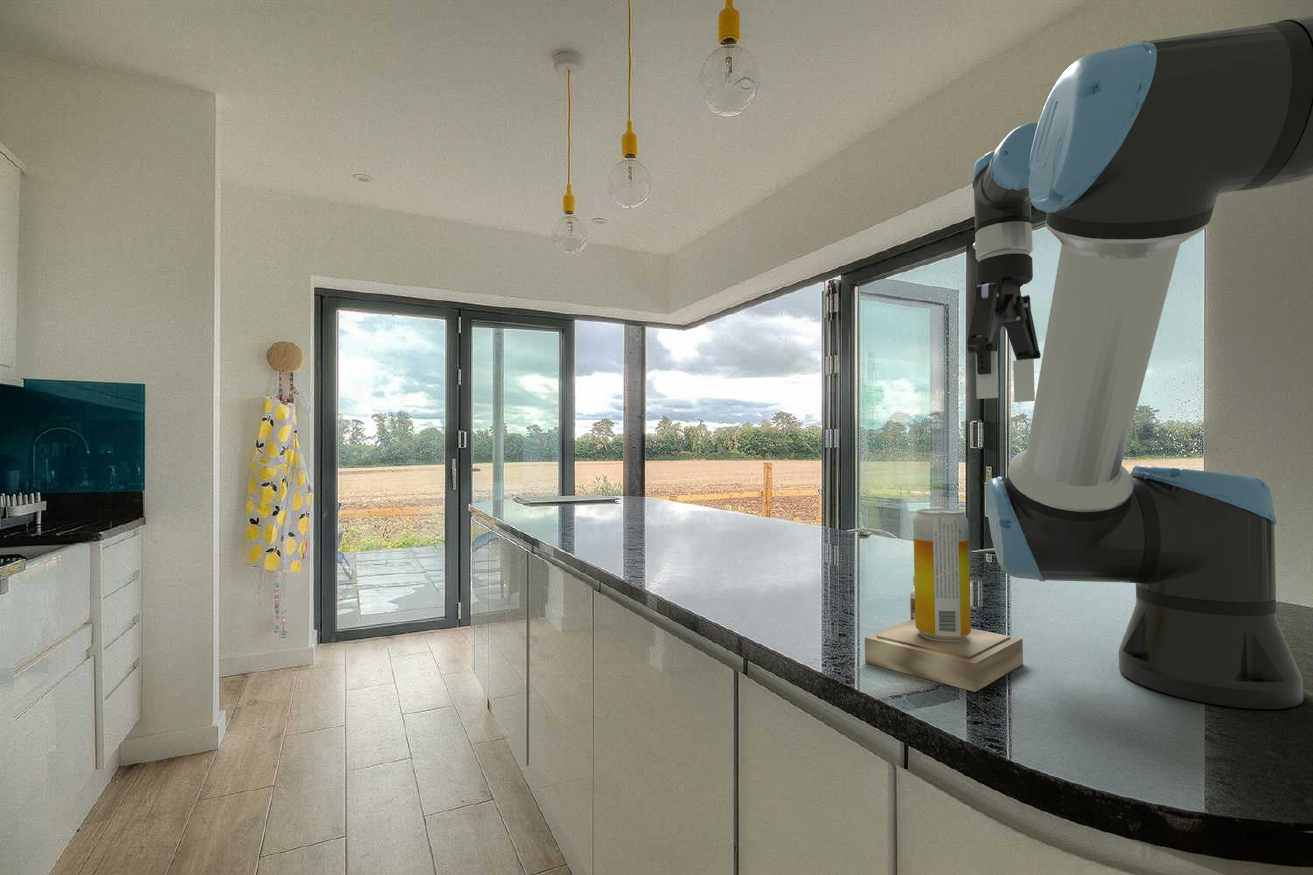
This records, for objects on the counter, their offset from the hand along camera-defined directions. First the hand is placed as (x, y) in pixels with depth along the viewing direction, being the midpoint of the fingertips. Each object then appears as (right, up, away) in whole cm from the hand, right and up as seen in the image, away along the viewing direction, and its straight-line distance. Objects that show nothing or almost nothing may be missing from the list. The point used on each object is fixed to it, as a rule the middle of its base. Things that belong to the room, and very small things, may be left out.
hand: (1006, 400), depth 97 cm
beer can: (-18, -30, -19) cm, 39 cm away
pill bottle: (-14, -33, -5) cm, 36 cm away
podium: (-18, -33, -19) cm, 42 cm away
